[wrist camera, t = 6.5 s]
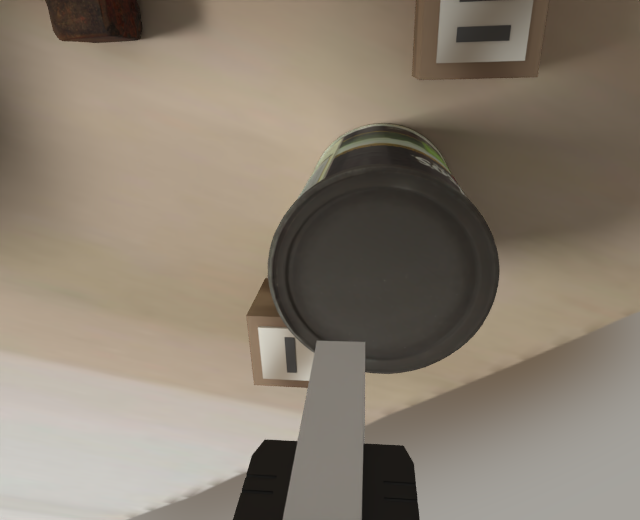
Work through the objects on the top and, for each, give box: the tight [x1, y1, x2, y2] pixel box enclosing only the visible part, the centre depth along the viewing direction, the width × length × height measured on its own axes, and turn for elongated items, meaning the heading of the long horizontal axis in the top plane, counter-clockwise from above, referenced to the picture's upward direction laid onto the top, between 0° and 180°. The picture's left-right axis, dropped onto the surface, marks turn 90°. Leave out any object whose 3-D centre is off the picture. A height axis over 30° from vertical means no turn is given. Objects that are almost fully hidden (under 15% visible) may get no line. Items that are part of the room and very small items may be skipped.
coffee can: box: [268, 124, 499, 374], centre depth 27 cm, size 10×10×14 cm
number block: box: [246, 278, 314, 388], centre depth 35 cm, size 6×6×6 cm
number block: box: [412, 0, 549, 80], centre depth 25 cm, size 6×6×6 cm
